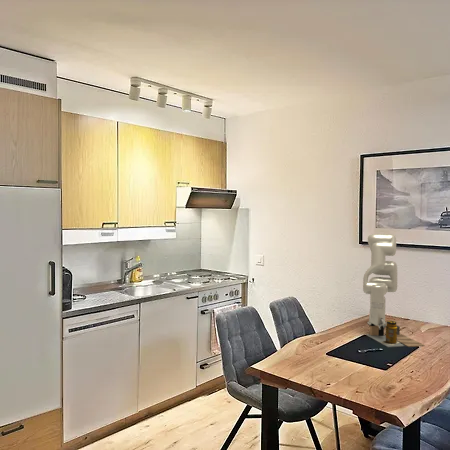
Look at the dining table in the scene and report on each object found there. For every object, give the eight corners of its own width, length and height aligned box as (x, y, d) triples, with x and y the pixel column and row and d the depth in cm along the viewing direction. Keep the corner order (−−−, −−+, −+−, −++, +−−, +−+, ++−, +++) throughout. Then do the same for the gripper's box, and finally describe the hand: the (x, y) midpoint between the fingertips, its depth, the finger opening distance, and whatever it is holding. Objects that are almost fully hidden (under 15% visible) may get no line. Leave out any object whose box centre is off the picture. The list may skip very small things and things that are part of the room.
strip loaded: (366, 335, 269) (366, 326, 269) (381, 334, 271) (381, 325, 271) (388, 347, 246) (388, 337, 245) (404, 346, 248) (404, 336, 247)
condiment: (399, 342, 253) (400, 321, 252) (392, 345, 247) (393, 324, 246) (387, 339, 258) (387, 319, 258) (380, 342, 252) (380, 322, 252)
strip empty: (384, 334, 270) (385, 325, 270) (399, 334, 272) (399, 325, 271) (408, 347, 246) (408, 337, 246) (424, 345, 248) (424, 336, 248)
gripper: (364, 302, 274) (363, 330, 274) (379, 308, 257) (378, 338, 257) (375, 302, 275) (375, 329, 276) (391, 308, 258) (390, 337, 259)
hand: (376, 333), depth 266 cm, fingers open, 9 cm apart
